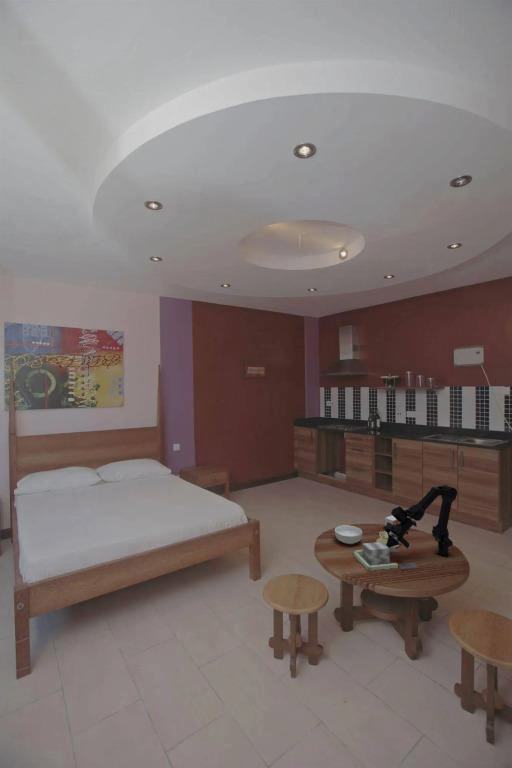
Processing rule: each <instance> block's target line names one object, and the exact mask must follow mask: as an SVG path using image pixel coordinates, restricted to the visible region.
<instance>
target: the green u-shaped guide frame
mask: <svg viewBox="0 0 512 768" xmlns="http://www.w3.org/2000/svg"><path fill="white" fill-rule="evenodd" d="M395 553H400V550H399V549H397V548H395V547H391V548H390V554H395ZM352 555H353V556H354V557H355V558H356V560H358V562H359V563H360V564H361V565H363V567H364V568H365V569H366V570H367V571H368V572H373V571H374V570H376V571H382V570H381V569H385V570H391V569H390V568H394V569H400V568H401V570H402V569H405V570H413V569H419V568H420V567H419V566H418V565H417V564H416V563H414V562H405V563H397V562H393V563H392V562H391V563H388V564H379V565H369V564H368V563H367V562H366V561H365V560H364V559H363V549H357V550H352ZM398 566H399V567H400V568H399V567H398ZM374 572H375V571H374Z"/></svg>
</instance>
